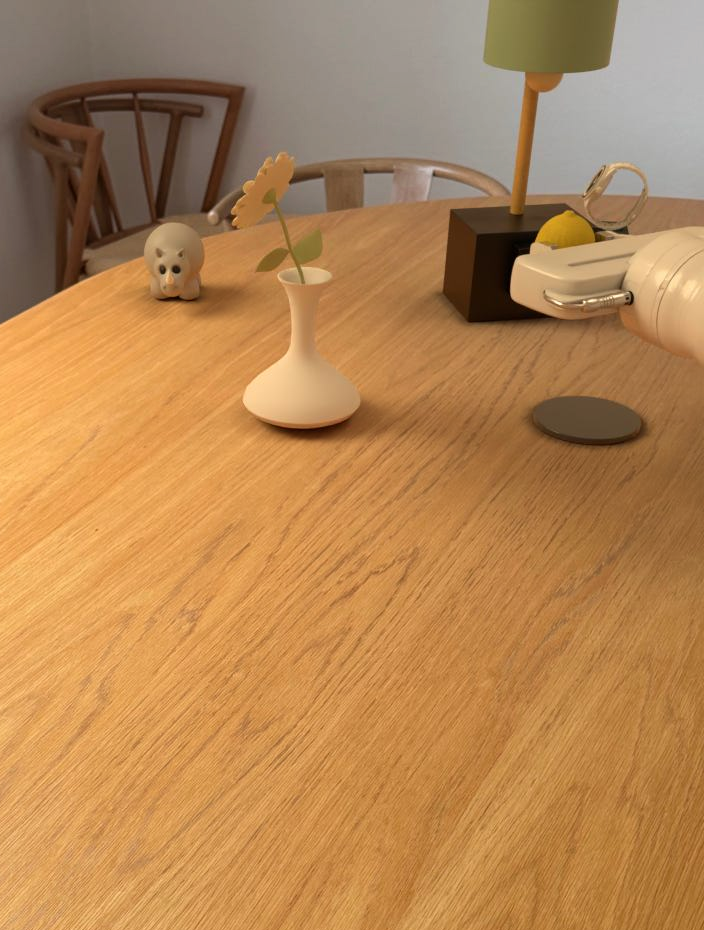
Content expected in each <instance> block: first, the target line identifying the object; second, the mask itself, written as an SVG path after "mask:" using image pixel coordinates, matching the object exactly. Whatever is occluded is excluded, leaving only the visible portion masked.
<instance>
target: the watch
mask: <svg viewBox="0 0 704 930" xmlns="http://www.w3.org/2000/svg"><path fill="white" fill-rule="evenodd" d="M619 170H627V171H631V172H633V173H635V174H636V175H637V176H638V177H639V178H640V179H641V180H642V182H643V184H644V186H643V187H644V188H642V190H641V194H640V195H639V197H638V199H637V201H636V203H635V204H634V206H633V207H632V208H631V209H630V210H629V212H628V213H627V214H626V215H625V217H624V218H623V219H622V220H619V221H611V220H610V221H609V220H608V221H607V220H599V219H597V218H596V217H595V216H594V215H593V214H592V212H591V210H590V208H591V205H592V204H593V203H595V202H596V201H597V200H598V199H599V198H600V197H601V196H602V194H604V192H605V190H606V189H607V188H608V186H609V185H610V183H611V181H612V179H613V177H614V175H615V174H616V173H617V172H618V171H619ZM581 199H582V200H583V201H584V202H583V203H584V204H583V205H584V212H585V214H586V217H587V219H588V220H589V221H590V222H592V223H593V224H594V225H596V226H597V227H598V232H602V231H608V230H609V231H612V232H615V233H617V234H624V235H630V233H629V232H630V231H629V227H628V226H631V225H632V224H633V222H634V221H635V220H636V219H637V218H638V217H639V215H641V213H642V211H643V210H644V208H645V206H646V204H647V203H648V199H649V185H648V182H647V177H646V176H645V174H644V172H643V171H642V170H641V168H639V167H638V166H637V165H635V164H633V163H630V162H625V161H616V162H612V163H610V164H609V165H608V164H607V163H606V164H603V165H602V166H601V167H600V168H599V169H598V170H597V172H596V173H595V174H594V175H593V177H592V178H591V179H590V181H589V183H588V184H587V186H586V187H585V188H584V190H583V193H582V196H581Z"/></svg>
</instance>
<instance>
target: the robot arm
mask: <svg viewBox="0 0 704 930" xmlns="http://www.w3.org/2000/svg"><path fill="white" fill-rule="evenodd" d="M594 236H595V243H591V244H585V245H579V246H574V247H568V248H562V249H557V245H556V244H554V243H549V241H543V242H536V243H532V245H531V248H530V254H527V255H521V256H519V257H517V258H516V260H515V262H514V266H513V270H512V276H511V286H510V293H511V298H512V299H513V300H514V301H515V302H517V303H519V304H521V305H524V306H526V307H528V308H531V309H533V310H536V311H539V312H541V313H544V314H547V315H550V316H553V317H552V318H557V319H562V320H570V321H571V320H572V321H573V320H584V319H589V318H593V317H594V318H595V317H600V316H604V315H609V314H614V313H615V314H616V313H619V317H620V320H621V322H622V325H623V326H624V328H625V329H626V330H627V332H629V333H630V334H631V335H632V336H634V337H636V338H638V339H639V340H642V341H645V342H646V343H648V344H650V345H652V346H655V347H657V348H659V349H661V350H663V351H665V352H667V353H669V354H672V355H673V356H676V357H679V358H682V359H689V360H695V361H697V362H698V363H699V364H700V366H701V367H702V368H704V226H696V225H694V226H691V225H690V226H683V227H678V228H673V229H667V230H661V231H655V232H650V233H644V234H638V235H634V234H629V235H624V234H617V233H615V232H612V231H609V230H608V231H602V232H596V233H594Z"/></svg>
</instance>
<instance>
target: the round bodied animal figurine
mask: <svg viewBox="0 0 704 930" xmlns="http://www.w3.org/2000/svg"><path fill="white" fill-rule="evenodd" d="M205 257H206V250H205V246H204V243H203V240H202V239H201V237H200V235H199V234H198V233H197V231H196V230H195V229H193V228H192V227H190V226H189V225H187V224H185V223H181V222H175V221H173V222H167V223H163V224H162V225H161V224H160V225H159V226H158V227H156V228H154V230H153V231H152V232H151V233H150V234H149V236H148V237H147V239H146V242H145V244H144V249H143V258H144V263H145V267H146V269H147V270H148V272H149V273H150V294H151V296H152V297H153V298H155V299H159V300H164V299H168V298H171V297H172V298H173V297H177V296H178V298H180V299H181V300H185V301H189V300H191V301H192V300H195V299H196V298H198V297H199V296H200V293H201V292H200V288H201V286H202V277H201V273H200V272H201V271H202V269H203V266H204V264H205Z"/></svg>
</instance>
